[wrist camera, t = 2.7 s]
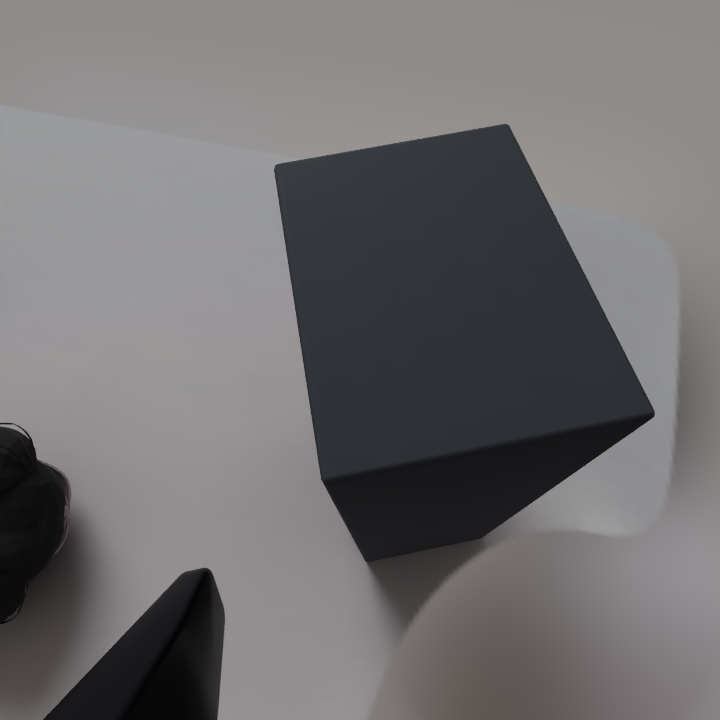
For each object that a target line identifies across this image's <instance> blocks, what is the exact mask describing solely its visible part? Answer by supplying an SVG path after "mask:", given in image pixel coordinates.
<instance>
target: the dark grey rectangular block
mask: <svg viewBox="0 0 720 720" xmlns="http://www.w3.org/2000/svg"><path fill="white" fill-rule="evenodd" d="M274 172H275V179H276V185H277V192H278V198H279V205H280V212H281V218H282V225H283V231H284V238H285V244H286V251H287V258H288V264H289V271H290V277H291V284H292V290H293V297H294V304H295V310H296V317H297V323H298V330H299V336H300V343H301V349H302V356H303V363H304V369H305V376H306V382H307V389H308V395H309V402H310V409H311V415H312V422H313V428H314V435H315V441H316V448H317V455H318V461H319V468H320V474H321V480H322V482H323V483H324V485H325V487H326V489H327V491H328V493H329V495H330V496H331V498H332V500H333V502H334V504H335V506H336V508H337V509H338V511H339V513H340V515H341V517H342V519H343V520H344V522H345V524H346V526H347V528H348V530H349V532H350V533H351V535H352V537H353V539H354V541H355V543H356V545H357V546H358V548H359V550H360V552H361V554H362V556H363V558H364V559H365V561H366V562H370V561H374V560H379V559H384V558H389V557H393V556H398V555H403V554H407V553H412V552H417V551H422V550H426V549H431V548H436V547H441V546H445V545H450V544H455V543H460V542H464V541H469V540H474V539H479V538H482V537H483V536H485V535H486V534H488V533H489V532H491V531H492V530H493V529H495V528H496V527H498V526H499V525H501V524H502V523H503V522H505V521H506V520H508V519H509V518H511V517H512V516H513V515H515V514H516V513H518V512H519V511H521V510H522V509H523V508H525V507H526V506H528V505H529V504H531V503H532V502H533V501H535V500H536V499H538V498H539V497H540V496H542V495H543V494H545V493H546V492H548V491H549V490H550V489H552V488H553V487H555V486H556V485H558V484H559V483H560V482H562V481H563V480H565V479H566V478H568V477H569V476H570V475H572V474H573V473H575V472H576V471H578V470H579V469H580V468H582V467H583V466H585V465H586V464H588V463H589V462H590V461H592V460H593V459H595V458H596V457H598V456H599V455H600V454H602V453H603V452H605V451H606V450H607V449H609V448H610V447H612V446H613V445H615V444H616V443H617V442H619V441H620V440H622V439H623V438H625V437H626V436H627V435H629V434H630V433H632V432H633V431H635V430H636V429H637V428H639V427H640V426H642V425H643V424H645V423H646V422H647V421H649V420H650V419H652V418H653V417H654V415H655V414H654V409H653V407H652V405H651V403H650V401H649V399H648V398H647V396H646V394H645V392H644V390H643V388H642V386H641V384H640V382H639V380H638V378H637V376H636V374H635V372H634V370H633V368H632V366H631V364H630V362H629V360H628V358H627V356H626V354H625V352H624V350H623V348H622V347H621V345H620V343H619V341H618V339H617V337H616V335H615V333H614V331H613V329H612V327H611V325H610V323H609V321H608V319H607V317H606V315H605V313H604V311H603V309H602V307H601V305H600V303H599V301H598V299H597V297H596V295H595V294H594V292H593V290H592V288H591V286H590V284H589V282H588V280H587V278H586V276H585V274H584V272H583V270H582V268H581V266H580V264H579V262H578V260H577V258H576V256H575V254H574V252H573V250H572V248H571V246H570V244H569V243H568V241H567V239H566V237H565V235H564V233H563V231H562V229H561V227H560V225H559V223H558V221H557V219H556V217H555V215H554V213H553V211H552V209H551V207H550V205H549V203H548V201H547V199H546V197H545V195H544V193H543V192H542V190H541V188H540V186H539V184H538V182H537V180H536V178H535V176H534V174H533V172H532V170H531V168H530V166H529V164H528V162H527V160H526V158H525V156H524V155H523V152H522V150H521V149H520V146H519V144H518V143H517V140H516V139H515V137H514V135H513V133H512V131H511V129H510V127H509V125H507V124H502V125H496V126H491V127H485V128H479V129H474V130H469V131H463V132H457V133H452V134H446V135H440V136H435V137H428V138H423V139H417V140H411V141H406V142H400V143H394V144H389V145H383V146H377V147H372V148H366V149H360V150H355V151H349V152H343V153H338V154H332V155H326V156H321V157H316V158H309V159H304V160H298V161H292V162H287V163H281V164H277V165H275V169H274Z"/></svg>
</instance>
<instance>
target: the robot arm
mask: <svg viewBox="0 0 720 720" xmlns="http://www.w3.org/2000/svg"><path fill="white" fill-rule="evenodd" d="M224 626H225V614H224V607H223V603H222V600H221V597H220V594H219V591H218V588H217V585H216V582H215V579H214V576H213V574H212V572H211V571H210V569H208V568H201V569H196V570H192V571H187V572H184V573H182V574H181V575H180V576H179V577H178V578H177V579H176V580H175V581H174V582H173V584H172V585H171V586H170V587H169V588H168V589H167V590H166V591H165V592H164V593H163V594H162V595H161V596H160V597H159V598H158V599H157V600H156V601H155V602H154V604H153V605H152V606H151V607H150V608H149V609H148V610H147V611H146V612H145V613H144V614H143V615H142V616H141V617H140V618H139V619H138V620H137V621H136V622H135V624H134V625H133V626H132V627H131V628H130V629H129V630H128V631H127V632H126V633H125V634H124V635H123V636H122V637H121V638H120V639H119V640H118V641H117V642H116V644H115V645H114V646H113V647H112V648H111V649H110V650H109V651H108V652H107V653H106V654H105V655H104V656H103V657H102V658H101V659H100V660H99V661H98V662H97V664H96V665H95V666H94V667H93V668H92V669H91V670H90V671H89V672H88V673H87V674H86V675H85V676H84V677H83V678H82V679H81V680H80V681H79V682H78V684H77V685H76V686H75V687H74V688H73V689H72V690H71V691H70V692H69V693H68V694H67V695H66V696H65V697H64V698H63V699H62V700H61V701H60V702H59V704H58V705H57V706H56V707H55V708H54V709H53V710H52V711H51V712H50V713H49V714H48V715H47V716H46V717H45V718H44V719H43V720H217V716H218V706H219V693H220V679H221V666H222V652H223V639H224Z"/></svg>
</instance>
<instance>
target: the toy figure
mask: <svg viewBox="0 0 720 720" xmlns="http://www.w3.org/2000/svg"><path fill="white" fill-rule="evenodd" d="M0 424H13V423H0ZM14 425H16V424H14ZM16 426H18V425H16ZM18 427H19V428H21V427H20V426H18ZM21 429H22V430H23V431H24V432H25V433H26V434H27V436H28V437H29V439H30V440H29V439H28V438H27V437H26V436H25V435H23V434H22V433H20V432H19V431H16V430H14V429H11V428H6V427H0V624H4V623H6V622H8V621H10V620H13V619H14V618H15V617H16V616H17V615H18V614H19V612H20V610H21V607H22V605H23V602H24V599H25V596H26V592H27V589H28V585H29V584H28V582H29V581H30V580H32V579H33V578H34V577H36V576H37V575H39V574H40V573H41V572H42V571H43V570H44V569H45V567H46V566H47V565H48V563H49V561H50V560H51V558H52V556H53V555H55V554H56V553H57V552H58V551H59V550H60V548H61V547H62V545H63V544H64V542H65V540H66V537H67V534H68V531H69V507H70V500H71V488H70V484H69V481H68V479H67V477H66V476H65V475H64V474H63V473H62V472H61V471H60V470H58V469H57V468H55V467H53V466H51V465H49V464H47V463H45V462H42V461H39V460H37V458H36V451H35V448H34V446H33V442H32V439H31V437H30V436H29V434H28V433H27V432H26V431H25V430H24V429H23V428H21ZM20 605H21V606H20ZM19 606H20V608H19V611H18V613H17V615H16V616H15V617H14V618H12V619H10V620H8V621H4V620H6V619H7V618H8V617H9V616H11V615H12V614H13V613H14V612H15V611H16V610H17V608H18V607H19Z"/></svg>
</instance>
